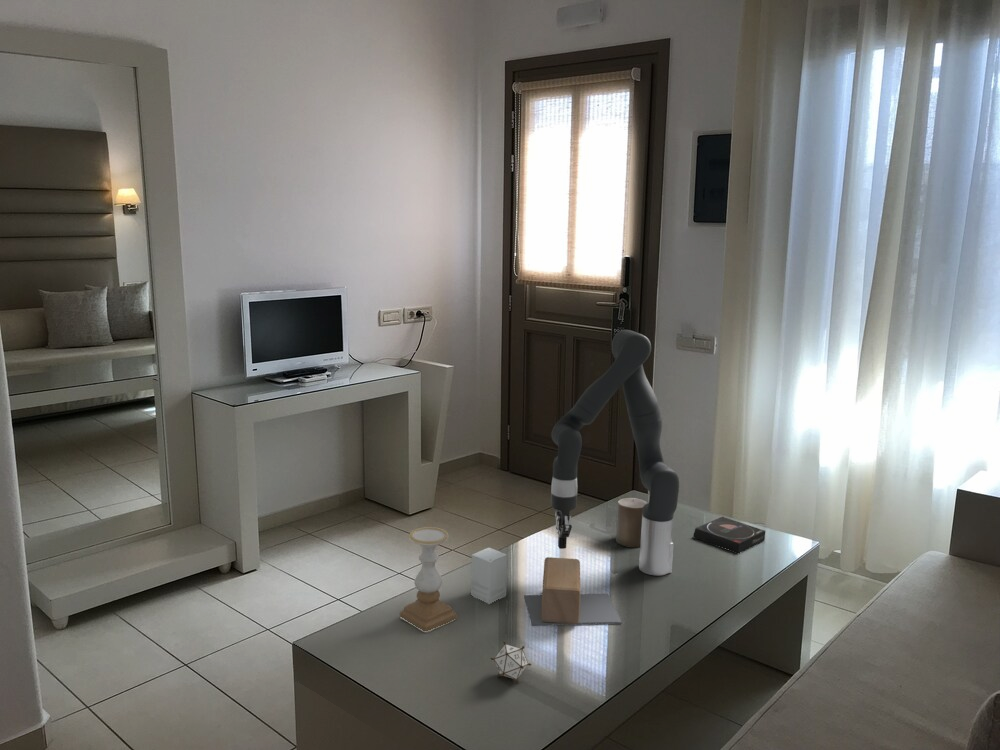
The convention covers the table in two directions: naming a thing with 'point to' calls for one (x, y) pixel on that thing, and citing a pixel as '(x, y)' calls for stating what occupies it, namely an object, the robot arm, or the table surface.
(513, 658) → the game die
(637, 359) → the robot arm
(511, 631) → the table surface
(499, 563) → the supplement box
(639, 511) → the pillar candle
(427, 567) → the candle holder
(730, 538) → the portable cd player
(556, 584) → the block
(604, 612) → the mat
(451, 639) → the table surface
